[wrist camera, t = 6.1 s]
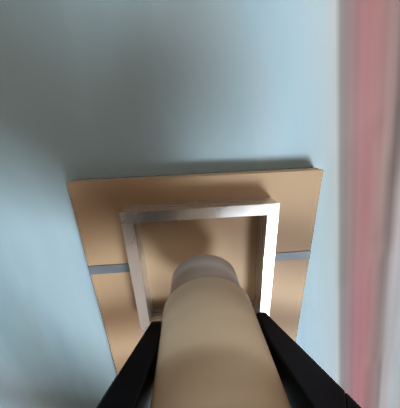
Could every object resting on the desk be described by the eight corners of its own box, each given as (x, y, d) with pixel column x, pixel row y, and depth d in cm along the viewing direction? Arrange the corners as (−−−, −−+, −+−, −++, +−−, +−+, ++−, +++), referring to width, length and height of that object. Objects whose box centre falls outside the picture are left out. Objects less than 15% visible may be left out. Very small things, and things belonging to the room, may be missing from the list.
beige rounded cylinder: (239, 308, 12) (338, 632, 4) (171, 313, 11) (138, 662, 4) (241, 248, 10) (391, 560, 3) (164, 253, 10) (94, 602, 3)
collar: (262, 307, 14) (268, 322, 13) (145, 316, 14) (141, 333, 13) (270, 196, 11) (279, 203, 10) (126, 205, 11) (119, 212, 10)
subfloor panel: (282, 384, 18) (287, 395, 17) (129, 399, 18) (127, 412, 17) (314, 167, 12) (323, 170, 11) (74, 180, 11) (65, 183, 10)
